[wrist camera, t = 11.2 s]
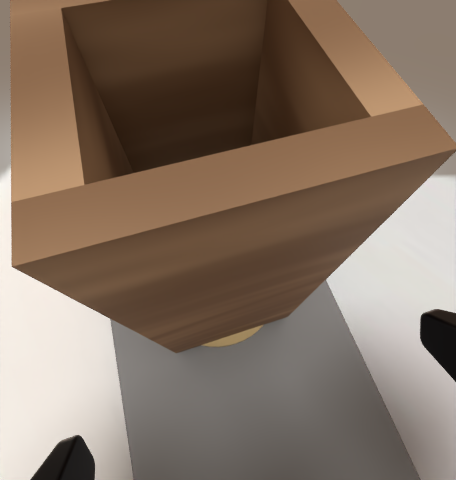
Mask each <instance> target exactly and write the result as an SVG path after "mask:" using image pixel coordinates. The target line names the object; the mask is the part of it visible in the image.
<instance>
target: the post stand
mask: <svg viewBox="0 0 456 480" xmlns="http://www.w3.org/2000/svg"><path fill="white" fill-rule="evenodd" d="M111 326H112V333H113V340H114V347H115V354H116V361H117V367H118V374H119V381H120V388H121V395H122V402H123V409H124V415H125V422H126V429H127V436H128V443H129V450H130V457H131V463H132V470H133V477H134V480H420V478H419V475H418V473H417V471H416V469H415V467H414V465H413V463H412V461H411V459H410V456H409V454H408V452H407V450H406V448H405V446H404V444H403V442H402V440H401V437H400V435H399V433H398V431H397V429H396V427H395V425H394V423H393V421H392V419H391V416H390V414H389V412H388V410H387V408H386V406H385V404H384V402H383V400H382V397H381V395H380V393H379V391H378V389H377V387H376V385H375V383H374V381H373V378H372V376H371V374H370V372H369V370H368V368H367V366H366V364H365V362H364V359H363V357H362V355H361V353H360V351H359V349H358V347H357V345H356V343H355V340H354V338H353V336H352V334H351V332H350V330H349V328H348V326H347V324H346V322H345V319H344V317H343V315H342V313H341V311H340V309H339V307H338V305H337V303H336V300H335V298H334V296H333V294H332V292H331V290H330V288H329V286H328V284H327V281H326V280H325V281H324V282H323V283H322V284H321V285H320V286H319V287H318V288H317V289H316V290H315V291H314V292H313V293H312V294H310V295H309V296H308V297H307V298H306V299H305V300H304V301H303V302H302V303H301V304H300V305H299V306H298V307H297V308H296V309H295V310H294V311H293V312H292V313H291V314H290V315H289V316H288V317H285V318H282V319H279V320H276V321H273V322H270V323H267V324H264V325H261V326H258V327H255V328H252V329H249V330H246V331H243V332H240V333H237V334H234V335H230V336H227V337H224V338H221V339H218V340H215V341H212V342H209V343H206V344H203V345H200V346H197V347H194V348H191V349H188V350H185V351H182V352H179V353H175V352H173V351H171V350H169V349H167V348H165V347H163V346H161V345H159V344H157V343H156V342H154V341H152V340H150V339H148V338H146V337H144V336H142V335H140V334H139V333H137V332H135V331H133V330H131V329H129V328H127V327H125V326H123V325H121V324H120V323H118V322H116V321H114V320H112V319H111Z"/></svg>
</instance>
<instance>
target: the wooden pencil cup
mask: <svg viewBox="0 0 456 480" xmlns="http://www.w3.org/2000/svg"><path fill="white" fill-rule="evenodd" d="M10 32H11V34H10V35H11V36H10V37H11V221H12V267H13V268H15V269H17V270H19V271H21V272H23V273H25V274H27V275H29V276H30V277H32V278H34V279H36V280H38V281H40V282H42V283H44V284H46V285H48V286H49V287H51V288H53V289H55V290H57V291H59V292H61V293H63V294H65V295H66V296H68V297H70V298H72V299H74V300H76V301H78V302H80V303H82V304H84V305H85V306H87V307H89V308H91V309H93V310H95V311H97V312H99V313H101V314H102V315H104V316H106V317H108V318H110V319H112V320H114V321H116V322H118V323H120V324H121V325H123V326H125V327H127V328H129V329H131V330H133V331H135V332H137V333H139V334H140V335H142V336H144V337H146V338H148V339H150V340H152V341H154V342H156V343H157V344H159V345H161V346H163V347H165V348H167V349H169V350H171V351H173V352H175V353H179V352H182V351H185V350H188V349H191V348H194V347H197V346H200V345H203V344H206V343H209V342H212V341H215V340H218V339H221V338H224V337H227V336H230V335H234V334H237V333H240V332H243V331H246V330H249V329H252V328H255V327H258V326H261V325H264V324H267V323H270V322H273V321H276V320H279V319H282V318H285V317H288V316H289V315H290V314H291V313H292V312H293V311H294V310H295V309H296V308H297V307H298V306H299V305H300V304H301V303H302V302H303V301H304V300H305V299H306V298H307V297H308V296H309V295H310V294H312V293H313V292H314V291H315V290H316V289H317V288H318V287H319V286H320V285H321V284H322V283H323V282H324V281H325V280H326V279H327V278H328V277H329V276H330V275H331V274H332V273H333V272H334V271H335V270H336V269H337V268H338V267H339V266H340V265H341V264H342V263H343V262H344V261H345V260H346V259H347V258H348V257H349V256H350V255H351V254H352V253H353V252H354V251H355V250H356V249H357V248H358V247H359V246H360V245H361V244H362V243H363V242H364V241H365V240H366V239H367V238H368V237H369V236H370V235H371V234H372V233H373V232H374V231H375V230H376V229H377V228H378V227H379V226H380V225H381V224H382V223H384V222H385V221H386V220H387V219H388V218H389V217H390V216H391V215H392V214H393V213H394V212H395V211H396V210H397V209H398V208H399V207H400V206H401V205H402V204H403V203H404V202H405V201H406V200H407V199H408V198H409V197H410V196H411V195H412V194H413V193H414V192H415V191H416V190H417V189H418V188H419V187H420V186H421V185H422V184H423V183H424V182H425V181H426V180H427V179H428V178H429V177H430V176H431V175H432V174H433V173H434V172H435V171H436V170H437V169H438V168H439V167H440V166H441V165H442V164H443V163H444V162H445V161H446V160H447V159H448V158H449V157H450V156H451V155H452V154H453V153H454V152H455V151H456V143H455V142H454V141H453V139H452V138H451V137H450V136H449V135H448V133H447V132H446V131H445V130H444V129H443V128H442V126H441V125H440V124H439V123H438V121H437V120H436V119H435V118H434V117H433V115H432V114H431V113H430V112H429V111H428V109H427V108H426V107H425V106H424V105H423V104H422V102H421V101H420V100H419V99H418V98H417V96H416V95H415V94H414V93H413V91H412V90H411V89H410V88H409V87H408V85H407V84H406V83H405V82H404V81H403V80H402V78H401V77H400V76H399V75H398V74H397V72H396V71H395V70H394V69H393V68H392V66H391V65H390V64H389V63H388V62H387V60H386V59H385V58H384V57H383V56H382V54H381V53H380V52H379V51H378V50H377V49H376V47H375V46H374V45H373V44H372V42H371V41H370V40H369V39H368V38H367V36H366V35H365V34H364V33H363V32H362V30H361V29H360V28H359V27H358V26H357V25H356V23H355V22H354V21H353V20H352V18H351V17H350V16H349V15H348V14H347V12H346V11H345V10H344V9H343V8H342V7H341V5H340V4H339V3H338V2H337V0H10Z"/></svg>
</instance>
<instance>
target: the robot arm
mask: <svg viewBox="0 0 456 480" xmlns="http://www.w3.org/2000/svg"><path fill="white" fill-rule="evenodd" d="M420 339H421V342H422V344H423V345H424V347H425V348H426V349H427V350H428V351H429V353H430V354H431V355H432V356H433V357H434V358H435V359H436V360H437V361H438V363H439V364H440V365H441V366H442V367H443V368H444V369H445V370H446V371H447V373H448V374H449V375H450V376H451V377H452V378H453V379H454V380H455V382H456V313H452V312H448V311H444V310H440V309H434V310H431V311H428V312H425V313H423V314H422V315H421V321H420ZM94 478H95V463H94V458H93V456H92V454H91V452H90V451H89V449H88V447H87V445H86V443H85V442H84V440H83V438H82V437H81V436H79V435H76V436H73V437H70V438H67V439H64V440H62V441H60V442H59V443H58V444H57V445H56V447H55V448H54V449H53V451H52V452H51V453H50V455H49V456H48V457H47V459H46V460H45V461H44V462H43V464H42V465H41V466H40V468H39V469H38V470H37V472H36V473H35V474H34V476H33V477H32V478H31V480H94Z"/></svg>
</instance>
